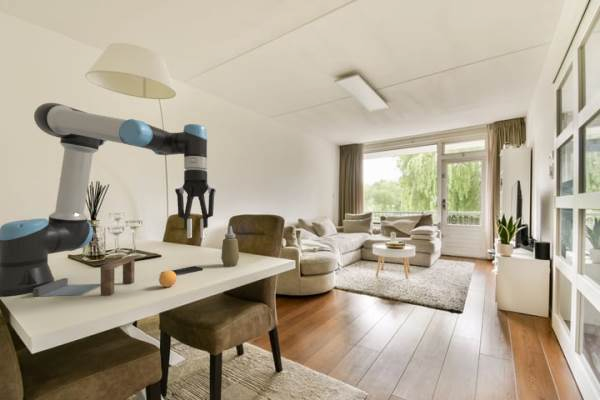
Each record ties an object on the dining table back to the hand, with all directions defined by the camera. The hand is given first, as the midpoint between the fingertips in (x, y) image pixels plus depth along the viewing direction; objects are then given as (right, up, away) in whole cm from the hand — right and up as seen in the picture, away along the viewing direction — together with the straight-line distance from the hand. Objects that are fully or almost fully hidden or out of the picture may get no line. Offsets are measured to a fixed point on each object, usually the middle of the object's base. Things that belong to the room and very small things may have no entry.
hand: (196, 237), depth 96 cm
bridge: (-25, -17, -2) cm, 30 cm away
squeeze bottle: (+4, -17, +31) cm, 36 cm away
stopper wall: (-46, -17, -4) cm, 50 cm away
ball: (-9, -14, -1) cm, 17 cm away
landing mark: (-39, -17, -4) cm, 43 cm away
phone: (-13, -18, +20) cm, 30 cm away
